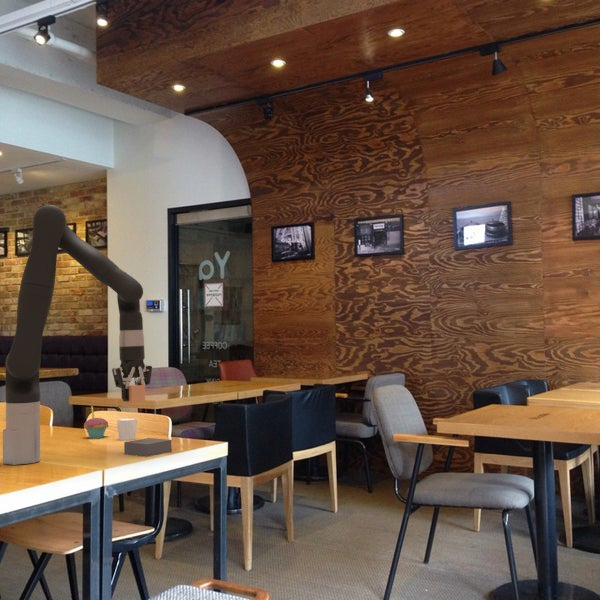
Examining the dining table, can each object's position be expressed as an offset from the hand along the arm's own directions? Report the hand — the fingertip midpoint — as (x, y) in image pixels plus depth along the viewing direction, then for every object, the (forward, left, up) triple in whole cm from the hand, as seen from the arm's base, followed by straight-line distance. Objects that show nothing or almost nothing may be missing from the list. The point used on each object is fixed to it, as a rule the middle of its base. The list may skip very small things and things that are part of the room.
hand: (133, 400), depth 213 cm
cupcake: (+15, +41, -16) cm, 46 cm away
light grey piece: (+18, +27, -16) cm, 36 cm away
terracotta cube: (0, 0, 0) cm, 0 cm away
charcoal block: (+2, -4, -16) cm, 17 cm away
